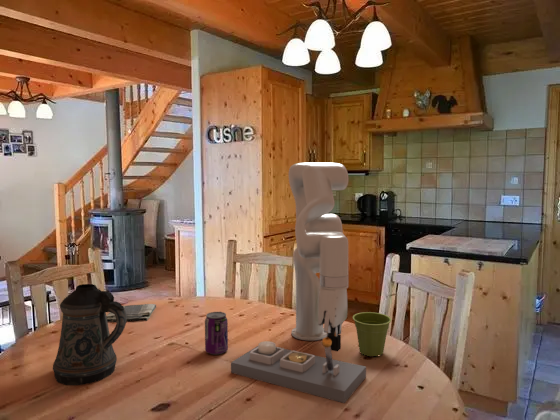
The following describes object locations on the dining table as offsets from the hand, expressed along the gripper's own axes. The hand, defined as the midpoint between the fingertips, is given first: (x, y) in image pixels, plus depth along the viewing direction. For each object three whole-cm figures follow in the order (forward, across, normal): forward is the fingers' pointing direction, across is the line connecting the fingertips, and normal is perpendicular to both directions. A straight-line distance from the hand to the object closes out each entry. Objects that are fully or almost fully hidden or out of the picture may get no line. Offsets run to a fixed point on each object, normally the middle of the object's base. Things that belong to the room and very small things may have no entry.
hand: (333, 349), depth 117 cm
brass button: (+5, +1, -11) cm, 12 cm away
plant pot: (+9, -24, +2) cm, 26 cm away
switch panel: (+9, 0, -11) cm, 14 cm away
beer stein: (+9, +27, -63) cm, 69 cm away
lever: (+6, +1, -1) cm, 6 cm away
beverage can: (+9, -2, -41) cm, 42 cm away
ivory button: (+4, +1, -21) cm, 21 cm away
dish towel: (+8, -15, -95) cm, 96 cm away
